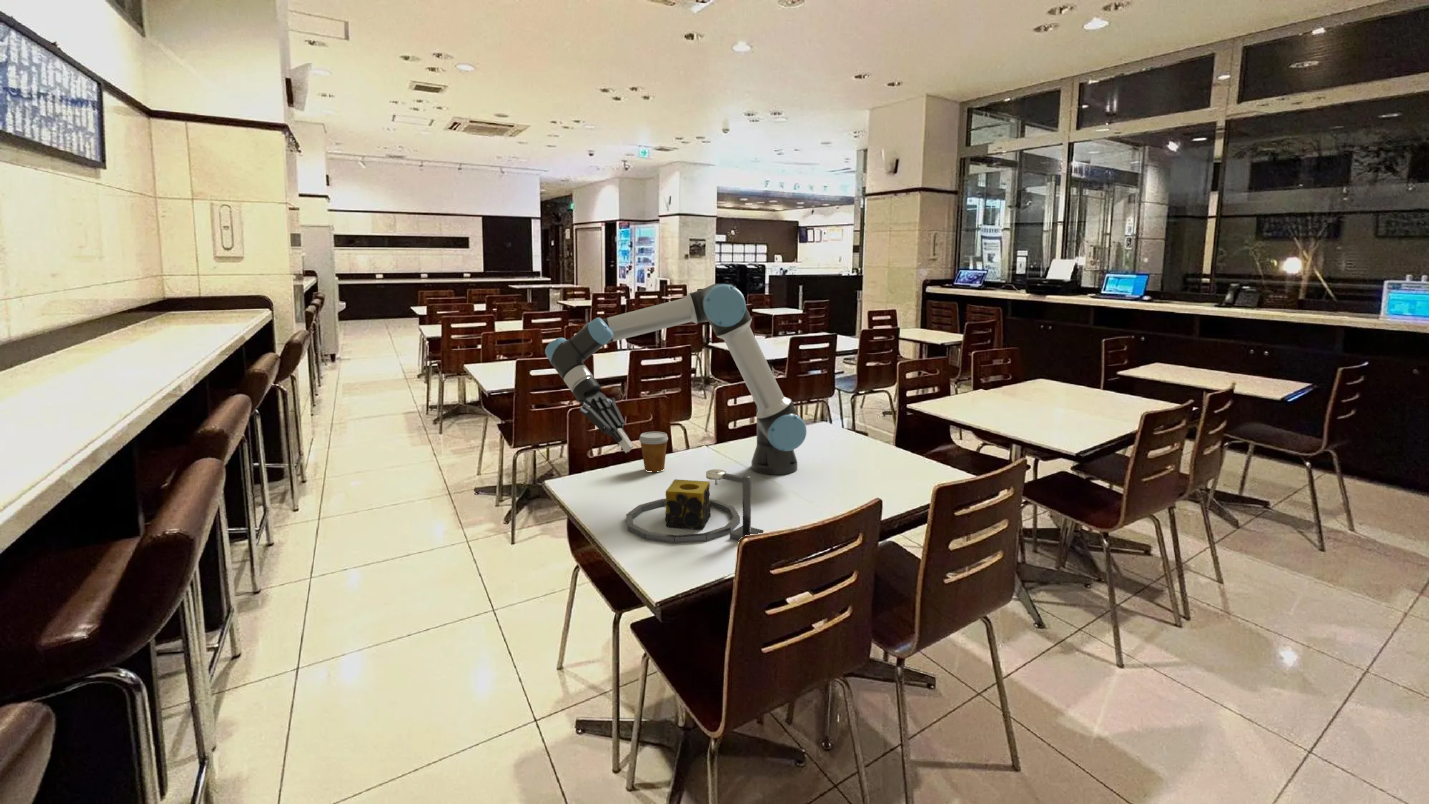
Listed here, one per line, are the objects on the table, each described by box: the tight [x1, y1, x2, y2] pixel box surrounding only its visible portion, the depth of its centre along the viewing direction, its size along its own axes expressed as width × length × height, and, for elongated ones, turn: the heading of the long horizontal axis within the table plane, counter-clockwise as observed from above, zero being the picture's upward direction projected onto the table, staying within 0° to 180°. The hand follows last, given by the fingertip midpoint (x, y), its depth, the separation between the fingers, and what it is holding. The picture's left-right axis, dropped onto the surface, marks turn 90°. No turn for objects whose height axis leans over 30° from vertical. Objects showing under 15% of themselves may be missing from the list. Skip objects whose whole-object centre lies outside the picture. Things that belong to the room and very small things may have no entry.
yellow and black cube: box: [664, 478, 712, 531], centre depth 178 cm, size 10×10×10 cm
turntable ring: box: [625, 498, 741, 544], centre depth 180 cm, size 29×29×2 cm
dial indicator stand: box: [705, 468, 765, 542], centre depth 170 cm, size 14×6×16 cm, turn 55°
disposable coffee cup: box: [638, 431, 669, 472], centre depth 225 cm, size 10×10×12 cm
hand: (629, 449), depth 190 cm, fingers closed
